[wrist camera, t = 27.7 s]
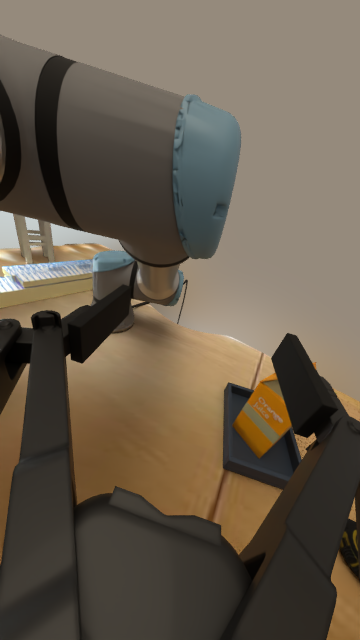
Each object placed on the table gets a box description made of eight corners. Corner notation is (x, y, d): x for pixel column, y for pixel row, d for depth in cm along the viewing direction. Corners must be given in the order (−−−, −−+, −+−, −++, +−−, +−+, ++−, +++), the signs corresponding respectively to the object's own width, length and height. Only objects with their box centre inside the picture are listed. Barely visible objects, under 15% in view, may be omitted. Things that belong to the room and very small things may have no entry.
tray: (224, 390, 52) (228, 382, 50) (277, 407, 51) (283, 400, 49) (222, 468, 36) (228, 460, 35) (300, 496, 35) (310, 489, 34)
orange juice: (282, 438, 43) (339, 377, 33) (259, 459, 38) (318, 396, 28) (254, 408, 48) (296, 348, 38) (231, 424, 43) (272, 360, 33)
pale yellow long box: (92, 274, 95) (91, 253, 90) (110, 286, 89) (111, 264, 84) (-39, 293, 62) (-52, 261, 57) (-24, 314, 56) (-37, 280, 50)
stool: (60, 264, 98) (52, 181, 80) (22, 265, 88) (3, 170, 70) (51, 254, 106) (41, 177, 88) (15, 254, 96) (-4, 167, 78)
